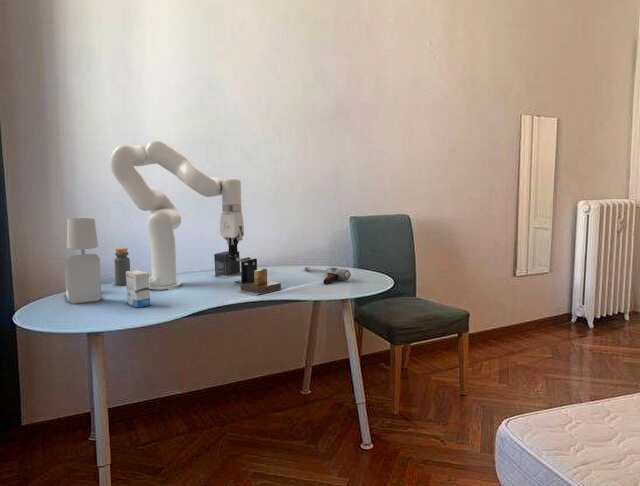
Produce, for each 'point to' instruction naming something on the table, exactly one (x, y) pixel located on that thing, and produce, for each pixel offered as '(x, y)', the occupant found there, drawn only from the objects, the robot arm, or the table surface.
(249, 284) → the lock plate
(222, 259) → the box
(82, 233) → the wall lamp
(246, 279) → the handle bracket
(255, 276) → the thumbturn
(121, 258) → the bottle
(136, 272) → the ink box
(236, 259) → the door lever
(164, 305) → the table surface
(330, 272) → the grey pistol
